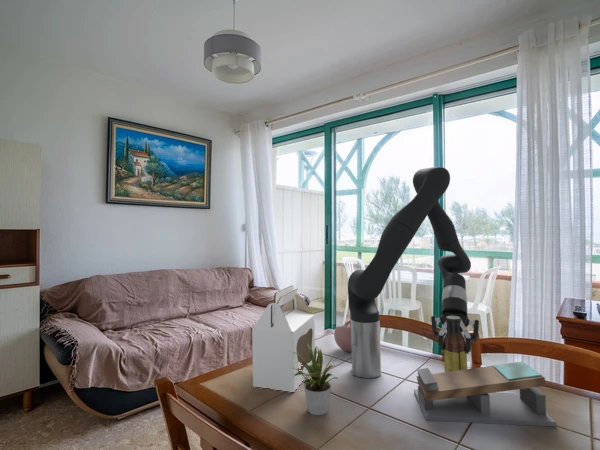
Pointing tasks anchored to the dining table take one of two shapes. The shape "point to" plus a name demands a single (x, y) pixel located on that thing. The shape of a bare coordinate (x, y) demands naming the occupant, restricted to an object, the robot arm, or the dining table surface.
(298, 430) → the dining table surface
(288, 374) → the gable box
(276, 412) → the dining table surface
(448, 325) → the sauce bottle
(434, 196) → the robot arm
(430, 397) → the seesaw plank
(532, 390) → the seesaw stand
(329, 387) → the house plant
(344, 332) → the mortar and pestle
